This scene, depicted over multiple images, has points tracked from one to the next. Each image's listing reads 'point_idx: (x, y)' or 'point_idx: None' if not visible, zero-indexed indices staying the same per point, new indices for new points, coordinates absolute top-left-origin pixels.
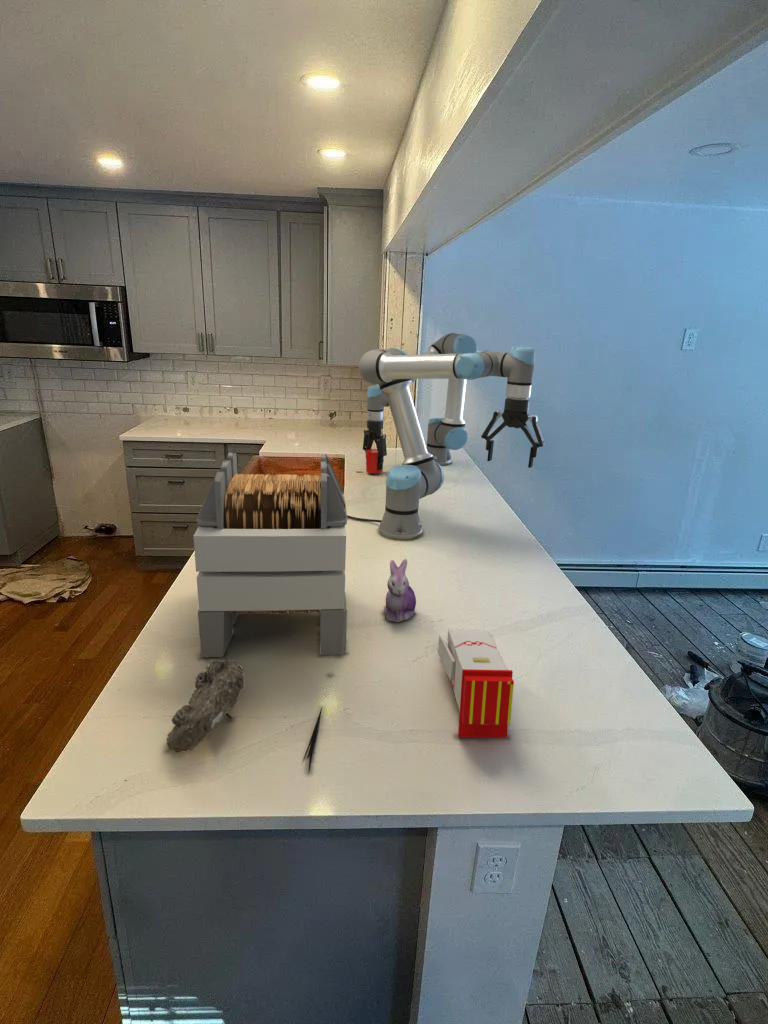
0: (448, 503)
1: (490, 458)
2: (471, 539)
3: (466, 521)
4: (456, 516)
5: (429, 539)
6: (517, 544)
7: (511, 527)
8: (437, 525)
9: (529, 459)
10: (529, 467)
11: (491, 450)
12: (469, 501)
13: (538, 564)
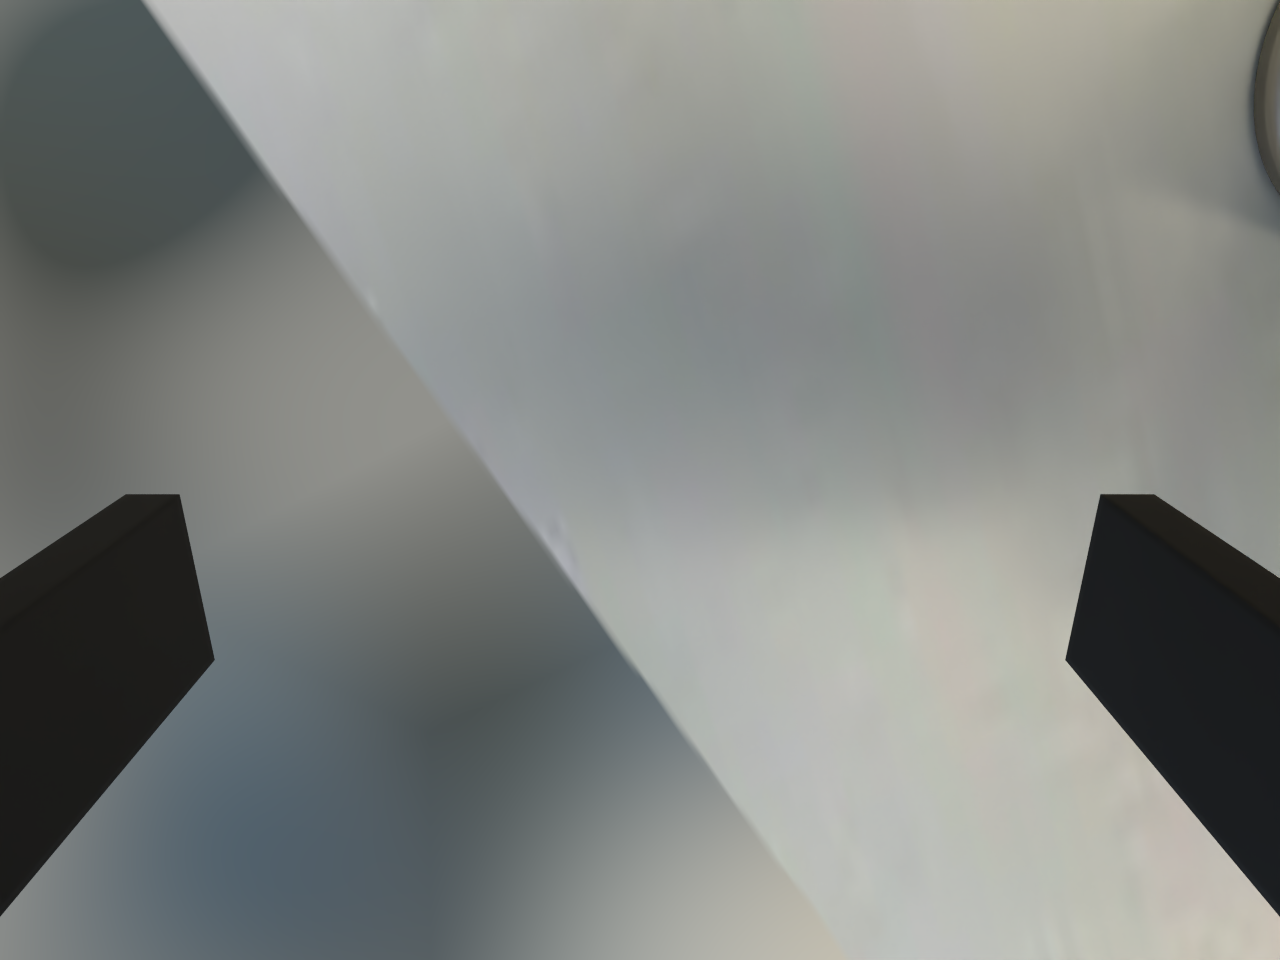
0: (1164, 810)
1: (1116, 576)
2: (854, 254)
3: (972, 570)
4: (1061, 620)
5: (1168, 51)
6: (527, 354)
7: (658, 629)
8: (1162, 380)
9: (46, 584)
10: (142, 494)
11: (1246, 706)
12: (1033, 906)
13: (270, 59)
